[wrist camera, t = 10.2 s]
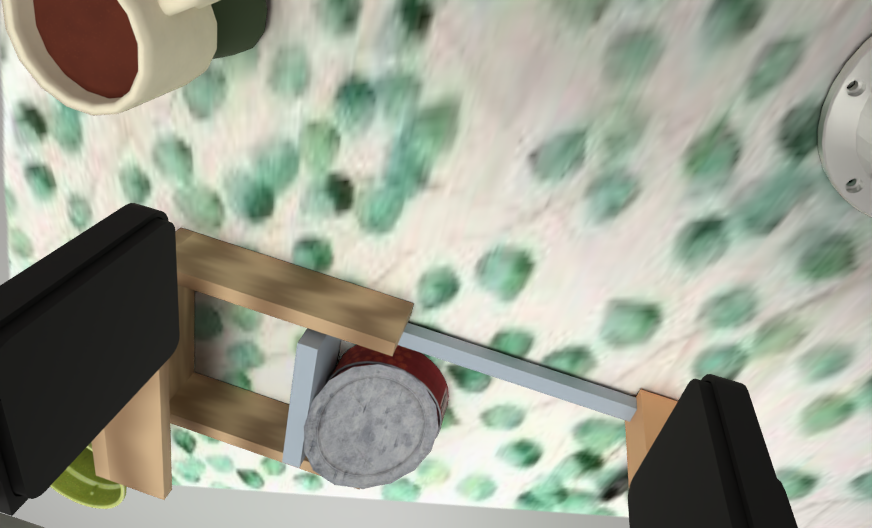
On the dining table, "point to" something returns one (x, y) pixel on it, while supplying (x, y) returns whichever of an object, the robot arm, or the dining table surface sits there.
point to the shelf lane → (220, 402)
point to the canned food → (375, 417)
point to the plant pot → (88, 484)
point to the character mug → (126, 45)
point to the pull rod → (322, 353)
